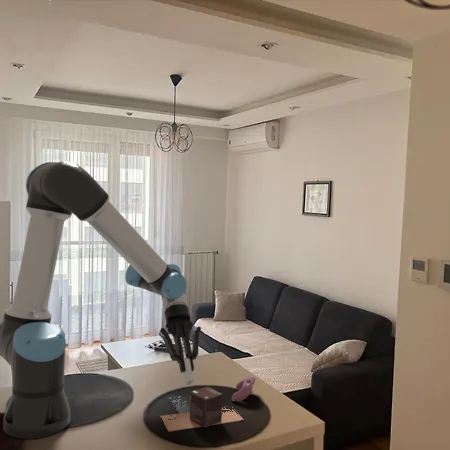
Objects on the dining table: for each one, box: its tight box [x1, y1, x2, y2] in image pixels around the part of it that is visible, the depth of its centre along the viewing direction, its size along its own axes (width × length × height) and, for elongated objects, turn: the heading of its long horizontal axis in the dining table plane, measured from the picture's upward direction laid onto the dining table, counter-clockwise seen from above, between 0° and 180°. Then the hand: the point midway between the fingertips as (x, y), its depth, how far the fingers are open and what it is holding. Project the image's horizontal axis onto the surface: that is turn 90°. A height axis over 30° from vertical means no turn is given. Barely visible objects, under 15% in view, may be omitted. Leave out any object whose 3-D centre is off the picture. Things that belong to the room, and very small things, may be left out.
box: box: [189, 386, 224, 429], centre depth 118 cm, size 6×6×7 cm
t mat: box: [159, 395, 244, 433], centre depth 125 cm, size 18×20×1 cm
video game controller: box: [230, 374, 257, 403], centre depth 135 cm, size 10×5×7 cm, turn 169°
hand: (189, 382), depth 130 cm, fingers closed
